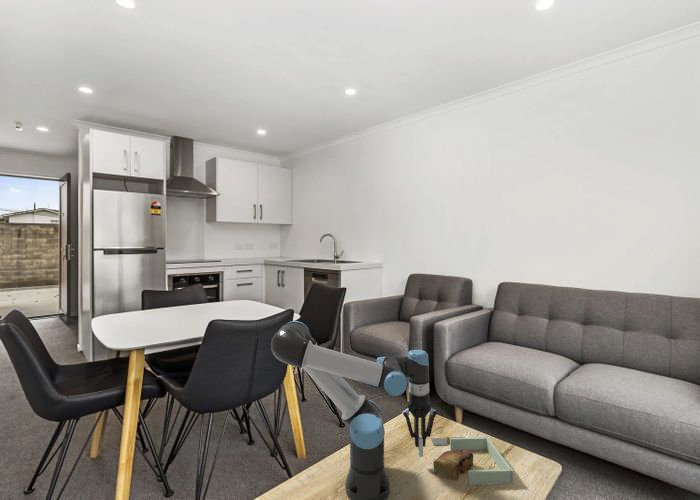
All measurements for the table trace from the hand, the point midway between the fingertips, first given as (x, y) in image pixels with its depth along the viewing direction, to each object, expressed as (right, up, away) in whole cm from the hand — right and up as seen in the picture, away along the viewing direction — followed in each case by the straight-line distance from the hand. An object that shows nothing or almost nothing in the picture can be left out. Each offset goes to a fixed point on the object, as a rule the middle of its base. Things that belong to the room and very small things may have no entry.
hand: (420, 454), depth 136 cm
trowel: (+15, -4, +17) cm, 22 cm away
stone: (+12, -5, -1) cm, 13 cm away
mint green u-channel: (+22, -4, +1) cm, 23 cm away
